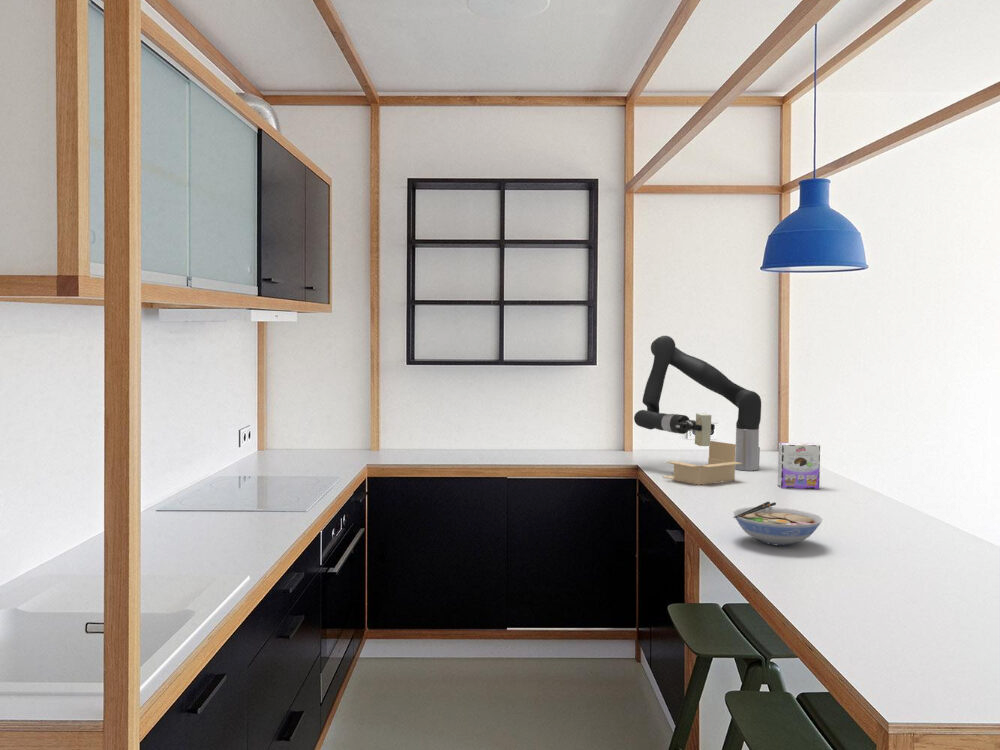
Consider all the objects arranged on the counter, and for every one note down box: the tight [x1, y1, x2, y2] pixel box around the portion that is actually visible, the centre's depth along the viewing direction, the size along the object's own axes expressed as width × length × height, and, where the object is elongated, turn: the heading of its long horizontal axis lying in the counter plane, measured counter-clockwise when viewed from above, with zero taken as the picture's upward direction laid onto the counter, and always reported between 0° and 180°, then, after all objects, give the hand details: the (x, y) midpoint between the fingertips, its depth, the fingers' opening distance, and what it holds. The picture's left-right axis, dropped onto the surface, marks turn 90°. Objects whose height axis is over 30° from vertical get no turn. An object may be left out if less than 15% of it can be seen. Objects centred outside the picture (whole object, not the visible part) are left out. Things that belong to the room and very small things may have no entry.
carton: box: [662, 440, 742, 486], centre depth 315 cm, size 24×23×14 cm
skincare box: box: [694, 412, 712, 447], centre depth 316 cm, size 6×4×12 cm
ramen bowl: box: [732, 501, 823, 546], centre depth 219 cm, size 25×23×8 cm
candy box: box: [777, 442, 821, 490], centre depth 302 cm, size 14×6×16 cm, turn 84°
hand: (707, 427), depth 314 cm, fingers closed on skincare box, 6 cm apart
